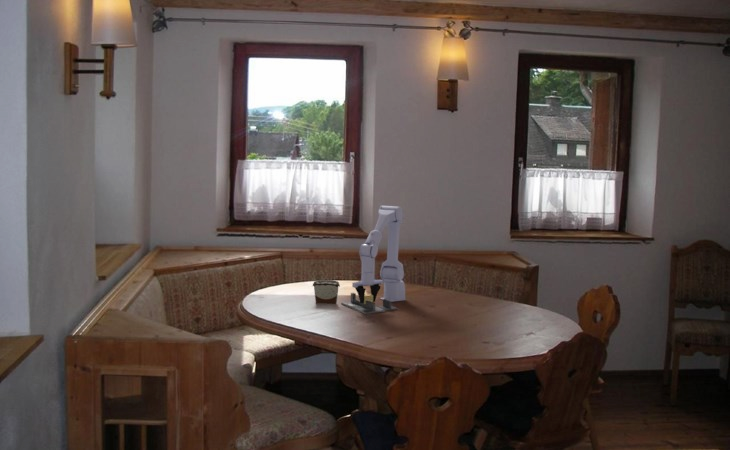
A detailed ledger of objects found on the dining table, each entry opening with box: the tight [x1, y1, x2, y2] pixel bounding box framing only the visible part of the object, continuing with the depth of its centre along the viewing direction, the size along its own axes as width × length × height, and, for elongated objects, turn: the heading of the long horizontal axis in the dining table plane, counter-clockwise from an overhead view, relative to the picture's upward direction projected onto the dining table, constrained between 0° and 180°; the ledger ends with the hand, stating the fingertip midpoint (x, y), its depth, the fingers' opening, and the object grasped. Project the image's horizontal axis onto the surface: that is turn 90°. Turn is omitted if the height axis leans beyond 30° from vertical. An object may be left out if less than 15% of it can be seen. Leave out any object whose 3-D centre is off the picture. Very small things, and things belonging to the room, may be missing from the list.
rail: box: [340, 292, 386, 315], centre depth 341 cm, size 10×21×5 cm, turn 31°
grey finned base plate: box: [377, 299, 398, 312], centre depth 340 cm, size 6×7×4 cm
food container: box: [312, 279, 341, 306], centre depth 350 cm, size 12×6×10 cm, turn 84°
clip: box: [364, 293, 374, 304], centre depth 337 cm, size 4×4×4 cm
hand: (367, 302), depth 337 cm, fingers closed on clip, 5 cm apart
